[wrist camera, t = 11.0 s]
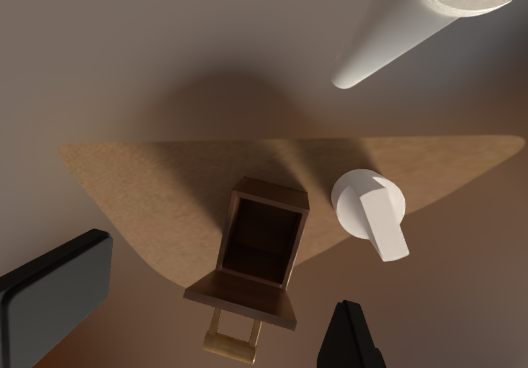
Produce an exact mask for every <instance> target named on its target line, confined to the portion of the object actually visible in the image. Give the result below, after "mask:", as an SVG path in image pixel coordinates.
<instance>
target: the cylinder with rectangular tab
mask: <svg viewBox="0 0 528 368" xmlns="http://www.w3.org/2000/svg"><path fill="white" fill-rule="evenodd" d="M331 201H332V205H333V208H334V210H335V213H336V215H337V217H338V220H339V221H340V223H341V225H342V227H343V228H344V229H345V230H346V231H347V232H348V233H350V234H352V235H354V236H356V237H359V238H363V239H370V240H371V242H372V244H373V245H374V247H375V249H376V250H377V252H378V253H379V255H380V256H381V258H382V260H383V261H392V260H397V259H400V258H402V257H404V256H407V255H408V254H409V251H408V248H407V245H406V242H405V240H404V237H403V234H402V231H401V228H400V225H399V224H400V222H401V221H402V218H403V216H404V214H405V200H404V196H403V195H402V193H401V191H400V189H399V188H398V187H397V186H396V185H395V184H394V183H392V182H391V181H389V180H387V179H386V178H384V177H383V176H381V175H379V174H378V173H376V172H374V171H371V170H368V169H356V170H352V171H349V172H347V173H345V174H344V175H342V176H341V177H340V178H339V179H338V180H337V182H336V183H335V185H334V187H333V190H332V193H331Z"/></svg>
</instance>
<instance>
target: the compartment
mask: <svg viewBox="0 0 528 368" xmlns="http://www.w3.org/2000/svg"><path fill="white" fill-rule="evenodd" d="M309 212H310V207H309V200H308V193H307V192H305V191H301V190H297V189H293V188H289V187H285V186H282V185H278V184H274V183H270V182H266V181H262V180H259V179H255V178H251V177H247V176H245V177H244V178H243V179H242V180H241V181H240V182H239V183H238V184H237V185H236V186H235V187H234V188H233V189H232V193H231V198H230V203H229V207H228V212H227V217H226V222H225V226H224V231H223V236H222V241H221V245H220V250H219V255H218V260H217V264H216V270H219V271H223V272H226V273H230V274H233V275H237V276H240V277H243V278H247V279H250V280H254V281H257V282H261V283H264V284H268V285H271V286H275V287H278V288H282V289H285V290H286V288H287V285H288V282H289V278H290V275H291V272H292V269H293V265H294V262H295V259H296V255H297V252H298V249H299V245H300V242H301V239H302V235H303V232H304V229H305V225H306V222H307V219H308V215H309Z"/></svg>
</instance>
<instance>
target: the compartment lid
mask: <svg viewBox="0 0 528 368" xmlns="http://www.w3.org/2000/svg"><path fill="white" fill-rule="evenodd" d="M183 298H186V299H189V300H192V301H196V302H199V303H202V304H206V305H210V306H212V307H215V311H214V315H213V318H212V322H211V325H210V329H209V330H208V331H207V333H206V336H205V339H204V342H203V346H202V349H204V350H207V351H210V352H213V353H217V354H220V355H223V356H227V357H230V358H233V359H236V360H239V361H243V362H246V363H249V364H253V363H254V359H255V355H256V351H257V345H256V343H257V339H258V335H259V331H260V327H261V323H262V321H263V322H266V323H270V324H273V325H276V326H280V327H283V328H287V329H290V330H293V331H295V328H296V324H297V321H296V318H295V315H294V312H293V308H292V305H291V303H290V299H289V297H288V293H287V290H285V289H282V288H278V287H275V286H271V285H268V284H264V283H261V282H257V281H254V280H250V279H247V278H243V277H240V276H237V275H233V274H230V273H226V272H223V271H219V270H216V269H215V270H213V271H212V272H210V273H209V274H207V275H206V276H204V277H203V278H202V279H200V280H199V281H197V282H196V283H194V284H193V285H191V286H190V287H188V288H187V289H185V293H184V296H183ZM223 310H226V311H229V312H233V313H236V314H239V315H243V316H246V317H250V318H253V319H255V321H254V325H253V328H252V332H251V337H250V340H249V342H246V341H242V340H239V339H235V338H232V337H229V336H226V335H222V334H219V333H216V332H217V329H218V325H219V322H220V318H221V314H222V311H223Z"/></svg>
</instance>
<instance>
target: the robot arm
mask: <svg viewBox="0 0 528 368" xmlns="http://www.w3.org/2000/svg"><path fill="white" fill-rule="evenodd" d="M112 244H113V239H112V237H110V234H109V233H108V232H105V231H102V230H98V229H92V230H90V231H88V232H86V233H84V234H82V235H80V236H78V237H76V238H75V239H72V240H70V241H69V242H67V243H65V244H63V245H61V246H59V247H57V248H55V249H53V250H51V251H49V252H47V253H46V254H44V255H42V256H40V257H38V258H36V259H34V260H32V261H30V262H28V263H26V264H25V265H23V266H21V267H19V268H17V269H15V270H13V271H11V272H9V273H7V274H5V275H3V276H1V277H0V368H32V367H33V366H34V365H35V364H36V363H37V362H38V361H39V360H40V359H41V358H43V357H44V356H45V355H46V354H47V353H48V352H49V351H50V350H51V349H52V348H53V347H54V346H56V345H57V344H58V343H59V342H60V341H61V340H62V339H63V338H64V337H65V336H66V335H67V334H69V333H70V332H71V331H72V330H73V329H74V328H75V327H76V326H77V325H78V324H79V323H80V322H82V320H84V319H85V318H86V317H87V316H88V315H89V314H90V313H91V312H92V311H93V310H94V309H95V308H97V307H98V306H99V305H100V304H101V303H102V302H103V301H104V300H105V298H106V297H107V295H108V290H109V279H110V268H111V255H112ZM317 368H386V365H385V362H384V360H383V357H382V354H381V352H380V351H379V349H378V348H375V346H374V343H373V340H372V338H371V335H370V332H369V329H368V326H367V323H366V320H365V318H364V314H363V311H362V309H361V306H360V304H358V303H354V302H351V301H347V300H344V301H343V302H342V303H340V302H338V303H337V305H336V308H335V311H334V314H333V316H332V319H331V322H330V324H329V327H328V330H327V332H326V335H325V338H324V341H323V343H322V346H321V349H320V352H319V354H318V358H317Z"/></svg>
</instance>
